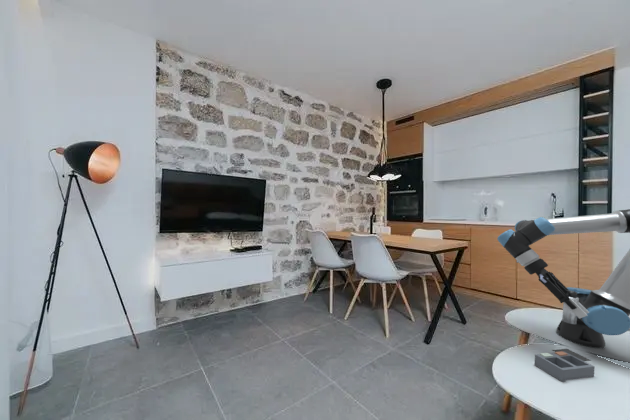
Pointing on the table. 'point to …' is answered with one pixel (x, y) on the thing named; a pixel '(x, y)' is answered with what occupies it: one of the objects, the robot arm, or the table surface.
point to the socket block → (564, 366)
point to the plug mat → (572, 354)
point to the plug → (567, 313)
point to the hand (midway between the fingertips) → (584, 315)
